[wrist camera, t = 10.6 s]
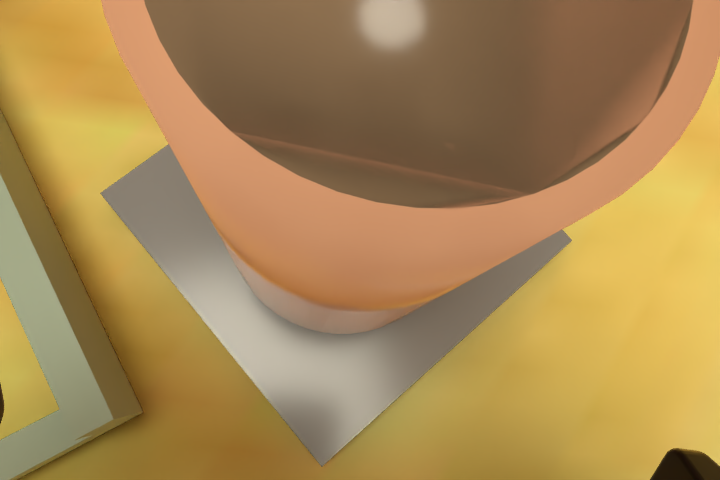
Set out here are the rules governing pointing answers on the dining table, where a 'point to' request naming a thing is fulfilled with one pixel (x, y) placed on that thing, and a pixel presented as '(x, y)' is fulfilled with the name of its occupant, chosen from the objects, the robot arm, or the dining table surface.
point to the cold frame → (54, 327)
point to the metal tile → (290, 341)
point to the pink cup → (408, 130)
